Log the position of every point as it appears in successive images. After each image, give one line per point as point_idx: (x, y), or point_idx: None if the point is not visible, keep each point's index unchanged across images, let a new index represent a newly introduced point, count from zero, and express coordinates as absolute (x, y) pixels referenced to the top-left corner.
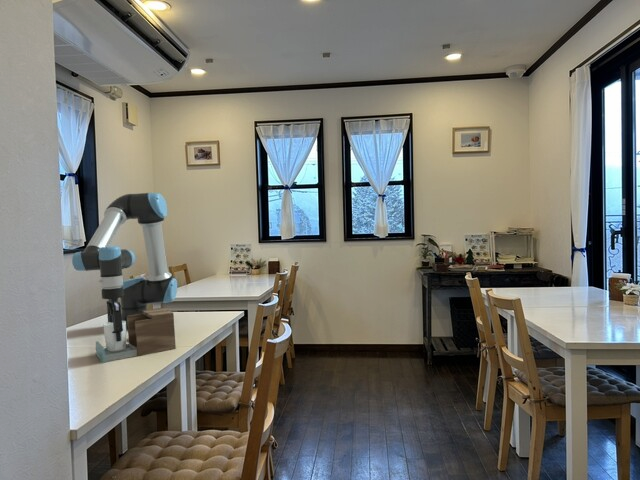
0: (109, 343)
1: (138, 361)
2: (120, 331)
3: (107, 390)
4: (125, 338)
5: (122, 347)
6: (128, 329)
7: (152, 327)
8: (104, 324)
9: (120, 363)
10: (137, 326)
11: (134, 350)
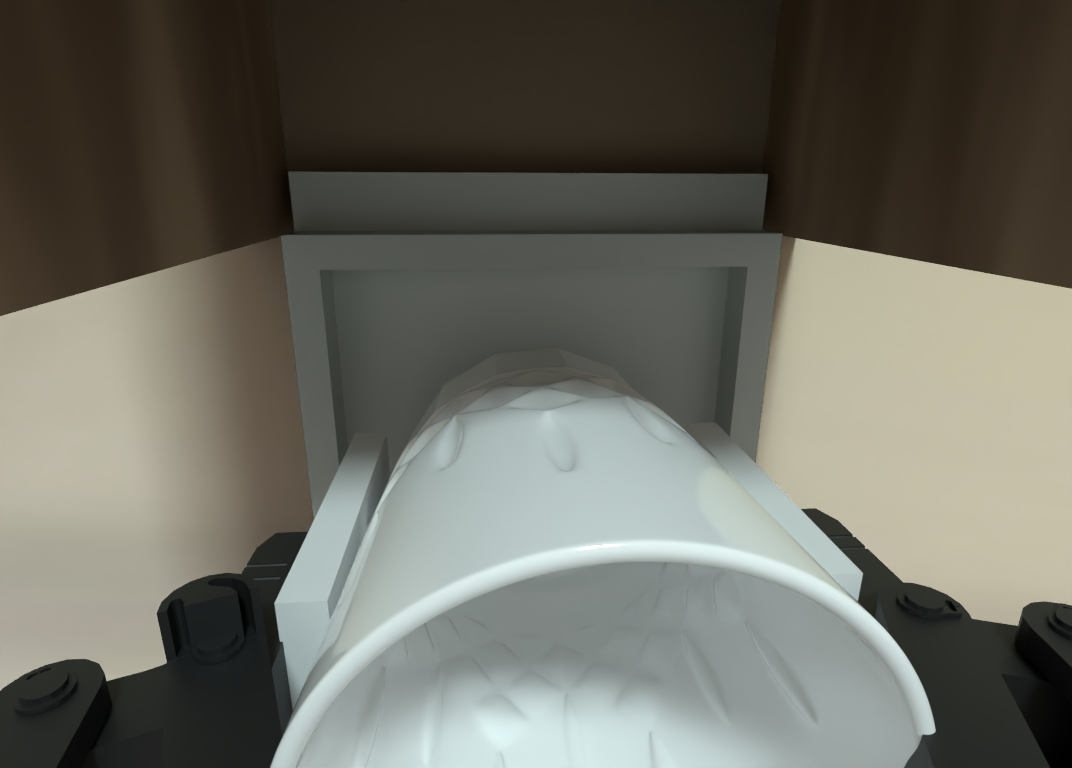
0: (646, 626)
1: (1011, 280)
2: (1017, 636)
3: None
4: (654, 407)
5: (725, 436)
6: (150, 272)
7: None
8: None
9: (906, 455)
10: None
11: (774, 270)
